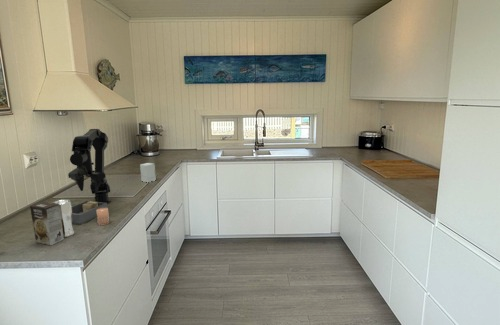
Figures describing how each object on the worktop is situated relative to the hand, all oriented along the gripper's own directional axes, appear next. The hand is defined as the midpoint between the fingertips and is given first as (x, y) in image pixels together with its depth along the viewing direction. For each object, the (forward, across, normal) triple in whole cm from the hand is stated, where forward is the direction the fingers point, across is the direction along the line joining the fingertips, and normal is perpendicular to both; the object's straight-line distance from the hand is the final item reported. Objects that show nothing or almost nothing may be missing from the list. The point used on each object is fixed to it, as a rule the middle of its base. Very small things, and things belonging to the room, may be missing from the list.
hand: (88, 191), depth 161 cm
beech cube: (+12, 0, 0) cm, 12 cm away
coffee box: (+12, +8, -30) cm, 34 cm away
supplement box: (+12, -12, +64) cm, 66 cm away
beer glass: (+12, +9, -23) cm, 28 cm away
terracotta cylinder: (+12, +16, -8) cm, 21 cm away
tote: (+12, 0, -4) cm, 13 cm away
